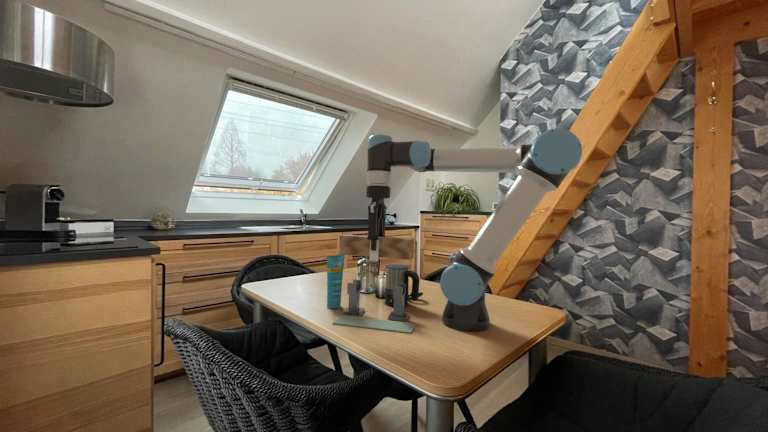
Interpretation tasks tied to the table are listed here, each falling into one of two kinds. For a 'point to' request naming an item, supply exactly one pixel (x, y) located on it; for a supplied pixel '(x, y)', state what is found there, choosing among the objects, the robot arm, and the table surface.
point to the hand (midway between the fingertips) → (376, 259)
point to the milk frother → (401, 275)
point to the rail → (387, 246)
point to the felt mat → (375, 324)
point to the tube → (334, 280)
